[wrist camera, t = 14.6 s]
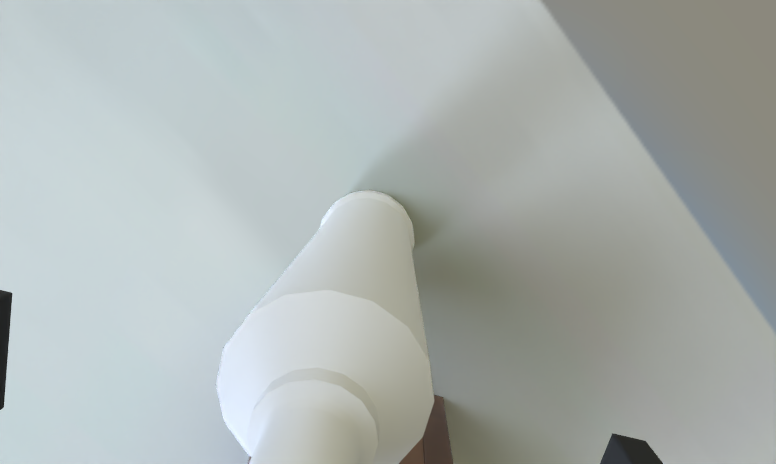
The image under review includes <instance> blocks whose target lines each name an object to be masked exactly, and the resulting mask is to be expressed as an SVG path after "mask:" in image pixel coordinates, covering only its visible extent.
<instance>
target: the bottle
mask: <svg viewBox="0 0 776 464" xmlns="http://www.w3.org/2000/svg"><path fill="white" fill-rule="evenodd" d="M414 244H415V240H414V232H413V224H412V221H411V219H410V218H409V216H408V214H407V212H406V211H405V209H404V207H403V206H402V205H401V204H400V203H398V202H397V201H396V200H395V199H393V198H392V197H391V196H389V195H388V194H384V193H381V192H377V191H373V190H364V191H356V192H351V193H349V194H348V195H346V196H344V197H342V198H341V199H339V200H337V201H336V202H334V204H333V205H332V206H331V208H330V209H329V210H328V212H327V213H326V214H325V216H324V217H323V218H322V222H321V226H320V229H319V230H318V231H317V233H316V234H315V235H314V236H313V237H312V239H311V240H310V241H309V242H308V243H307V245H306V246H305V247H304V248H303V249H302V251H301V252H300V253H299V254H298V255H297V257H296V258H295V259H294V260H293V261H292V263H291V264H290V265H289V266H288V267H287V269H286V270H285V271H284V272H283V273H282V275H281V276H280V277H279V278H278V279H277V281H276V282H275V283H274V284H273V285H272V287H271V288H270V289H269V290H268V291H267V293H266V294H265V295H264V296H263V297H262V299H261V300H260V301H259V302H258V303H257V305H256V306H255V307H254V308H253V309H252V311H251V312H250V313H249V314H248V315H247V317H246V318H245V319H244V321H243V322H242V323H241V325H240V326H239V327H238V329H237V330H236V331H235V333H234V334H233V335H232V337H231V338H230V339H229V341H228V342H227V343H226V345H225V346H224V347H223V352H222V357H221V362H220V367H219V372H218V376H217V381H216V389H217V393H218V397H219V402H220V406H221V410H222V414H223V419H224V423H225V424H226V426H227V427H228V428H229V430H230V431H231V432H232V434H233V435H234V436H235V438H236V439H237V441H238V442H239V443H240V445H241V446H242V447H243V449H244V450H245V452H246V453H247V454H248V455H249V456H251V460H250V462H249V464H399V463H400V462H401V460H402V459H403V458H404V457H405V456H406V455H407V454H408V453H409V452H410V451H411V449H412V448H413V447H414V446H415V445H416V444H417V443H418V442H419V441H420V440H421V438H422V437H423V435H424V432H425V428H426V425H427V422H428V419H429V416H430V413H431V410H432V407H433V404H434V393H433V385H432V377H431V369H430V361H429V355H428V349H427V343H426V337H425V330H424V324H423V318H422V312H421V306H420V300H419V294H418V288H417V282H416V276H415V270H414V264H413V257H412V251H413V248H414Z"/></svg>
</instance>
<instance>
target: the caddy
mask: <svg viewBox="0 0 776 464" xmlns="http://www.w3.org/2000/svg"><path fill="white" fill-rule="evenodd" d="M250 460H251V456H249V459H248V464H249V462H250ZM399 464H453V459H452V453H451V446H450V440H449V433H448V427H447V421H446V414H445V408H444V401H443V397H440V396H436V395H434V404H433V407H432V410H431V413H430V416H429V419H428V422H427V425H426V428H425V432H424V435H423V437H422V438H421V440H420V441H419V442H418V443H417V444H416V445H415V446H414V447H413V448H412V449H411V451H410V452H409V453H408V454H407V455H406V456H405V457H404V458H403V459H402V460H401V462H400V463H399Z"/></svg>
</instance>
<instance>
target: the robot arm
mask: <svg viewBox="0 0 776 464" xmlns="http://www.w3.org/2000/svg"><path fill="white" fill-rule="evenodd" d="M11 303H12V293H10V292H6V291H2V290H0V410H1V409H2V408H3V407H4V396H5V382H6V369H7V356H8V343H9V329H10V316H11ZM600 464H663V463H662V462H661V460H660V459H659V458H658V457H657V455H656V454H655V453H654V451H653V450H652V449H651V448H650V446H649V445H648V444H647V442H646V441H643V440H638V439H634V438H630V437H626V436H621V435H617V434H613V433H612V436H611V438H610V441H609V443H608V446H607V448H606V451H605V453H604V455H603V458H602V460H601V463H600Z"/></svg>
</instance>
